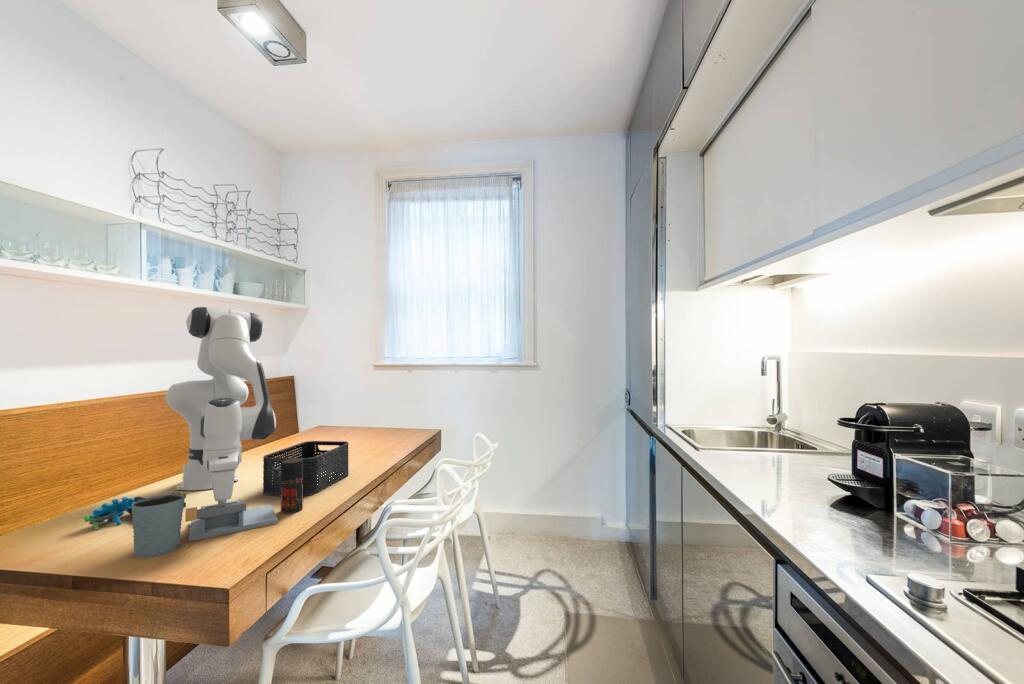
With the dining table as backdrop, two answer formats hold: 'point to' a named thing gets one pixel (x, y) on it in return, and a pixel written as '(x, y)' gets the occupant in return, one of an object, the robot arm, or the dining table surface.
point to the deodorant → (291, 486)
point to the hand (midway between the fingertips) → (221, 508)
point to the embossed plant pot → (157, 524)
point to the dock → (232, 522)
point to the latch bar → (213, 511)
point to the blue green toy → (110, 512)
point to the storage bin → (307, 466)
